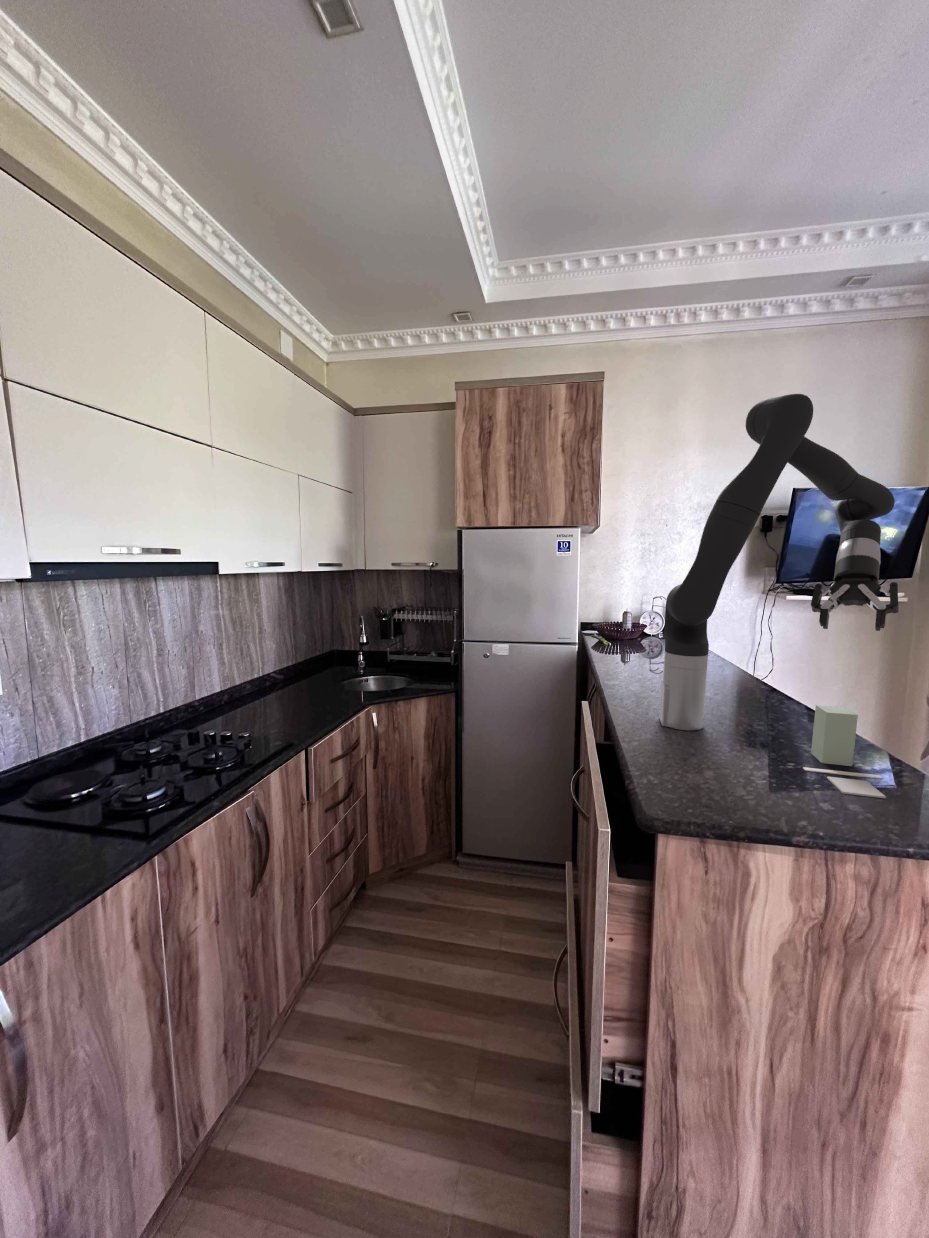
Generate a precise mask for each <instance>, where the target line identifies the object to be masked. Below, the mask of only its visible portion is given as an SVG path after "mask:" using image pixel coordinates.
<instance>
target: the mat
mask: <svg viewBox="0 0 929 1238" xmlns="http://www.w3.org/2000/svg"><path fill="white" fill-rule="evenodd" d="M826 779H827V780H828V781H829V782H830V783H831V784H832V785H833V786H834V787H835V788H836V789H838V790H839V792H841V794H845V795H854V796H860V797H861V796H862V797H871V798H878V799H879V798H880V799H886V797H887V796H886V795H885V794H883V793H882V792H881V791H880V790H879V789H877V788H876V787H875V786H873V784H871V783H870V782H869V781H868V780H865V779H864V780H862V779H855V778H844V777H837V776H836V777H835V776H826Z"/></svg>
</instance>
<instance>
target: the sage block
mask: <svg viewBox="0 0 929 1238" xmlns="http://www.w3.org/2000/svg"><path fill="white" fill-rule="evenodd" d="M858 717H859V715H858V714H857V713H855V712H854V711H852V710H851V709H849V708H847V707H845V706H844V707H843V706H833V705H821V704H820V705H819V704H815V710H814V719H813V731H812V737H811V738H812V739H811V750H810V754H811V755H812V756H813V757H814V758H815V759H816V760H818V761H819V762H820V763H821V764H825V765H826V764H827V765H828V764H829V765H838V766H847V767H853V763H854V762H853V761H854V755H855V754H854V753H855V743H856V737H857V736H856V734H857V726H858Z"/></svg>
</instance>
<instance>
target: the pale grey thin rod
mask: <svg viewBox="0 0 929 1238" xmlns="http://www.w3.org/2000/svg"><path fill="white" fill-rule="evenodd" d="M802 769H803V770H804V771H805V772H813V773H823V774H829V775H830V774H831V775H832V774H833V775H840V776H841V775H842V776H848V777H849V776H851V777H860V778H869V779H876V780H883V779H884V778H883V777H882V776H881V775H880V774H870V773H861V772H854V771H853V772H850V771H843V770H833V769H823V768H817V767H816V768H814V767H806V766H805V767H804V766H803V767H802Z"/></svg>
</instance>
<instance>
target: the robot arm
mask: <svg viewBox="0 0 929 1238" xmlns="http://www.w3.org/2000/svg"><path fill="white" fill-rule="evenodd" d="M813 416H814V404H813V401H812V400H811V398H810V397H809V396H808V395H805V394H802V393H790V394H786V395H781V396H776V397H771V398H767V399H764V400H761V401H758V402H757V403H755V404H754V405H753V406H752V407H751V408H750V409H749V410H748V412H747V414H746V417H745V426H744V427H745V431H746V433H747V435H748V436H749V437H750V438H751V440H752V441H753V442H755V443H756V444H759V446H758V448H757V450H756V451H755V454H754V455H753V456H752V458H751V459H750V461H749V462H748V463H747V464H746V466H744V467H743V468H742V469H741V470H740V472H738V474H736V476H735V477H733V479H732V480H731V481H730V482H729V483H728V484H727V485H725V487H724V489H723V490H722V491H721V492H720V493H719V495H718V497H717V498H716V500H715V502H714V504H713V506H712V508H711V511H710V513H709V515H708V517H707V519H706V522H705V524H704V528H703V531H702V533H701V538H700V542H699V545H698V546H699V547H698V550H697V553H696V556H695V559H694V561H693V564H692V565H691V567H690V569H689V571H688V573H687V574H686V576H685V578H684V580H683V581H682V582H681V583H680V584H678V585H675V587H673V588H671V590H670V591H669V593H668V595H667V597H666V601H665V612H664V629H663V630H664V636H663V637H664V658H663V670H662V671H663V672H662V673H663V674H662V680H661V681H660V682H661V686H660V699H659V701H660V702H659V716H658V718H659V719H658V720H659V722H660V724H661V726H662V727H668V728H671V729H675V730H680V731H699V730H702V729H703V728H704V720H705V716H704V715H705V703H706V691H707V677H708V676H707V673H708V664H709V663H708V661H709V660H708V659H709V648H710V644H709V640H708V631H707V630H708V620H709V618H710V617H712V614H713V613H714V612H715V609H716V605H717V603H718V600H719V597H720V595H721V592H722V591H723V586H724V584H725V581H726V579H727V577H728V574H729V572H730V570H731V569H732V567H733V565H734V563H735V562H736V560H737V558H738V556H739V555H740V553H741V552H742V549H743V548H744V546H745V544H746V542H747V541H748V539H749V537H750V535H751V533H752V532H753V529H754V527H755V526H756V523H757V521H758V520H759V518H760V516H761V514H762V512H763V510H764V507H765V505H766V503H767V500H768V499H769V497H770V495H771V494H772V492H773V489H774V488H775V486H776V484H777V482H778V480H779V478H780V476H781V474H782V472H783V471H784V469H785V467H786V466H787V464H789V465H791V467H793V468H794V469H796V470H797V471H799V473H801V474H802V475H803V476H804V477H806V478H807V480H809V481H810V482H811V483H812V484H813V485H814V486H815V487H816V488H817V489H818V490H819V491H821V493H823V495H825V496H826V498H828V499H829V500H831V501H835V502H837V503H836V504H835V506H834V514H835V515H834V516H835V518H836V521H837V522H838V527H839V532H840V539H839V545H838V546H839V547H838V551H837V554H836V557H835V558H836V560H835V567H834V574H833V575H834V576H833V582H832V584H831V585H830V586H829V585H826V586H825V585H822V584H821V583H816V584H815V585H814V589H813V593H812V597H811V602H810V607H811V611H812V612H813V613H820V614H819V618H818V622H819V626H820V627H822V629H824V630H828V628H829V622H830V621H829V620H830V613H831V612H832V611H833V610H836V609H838V608H839V607H840V606H842V605H844V606H846V607H848V606H858V607H859V606H861V607H864V605H867V606H868V607H869V608H870V609H871V610H874V611H875V613H876V614H875V623H874V624H875V627H874V628H875V631H877V632H878V631H879V632H881V629H884V628H885V627H886V619H887V617H886V616H887V615H888V614H898V613H899V589H898V582H896V581H893V582H890V583H889V584H885V585H880V583H879V579H880V569H881V568H880V567H881V562H882V561H881V555H882V554H881V536H882V528H881V525H880V524H879V523H878V522H876V521H874V520H875V519H878V518H880V517H883V516H886V515H888V514H889V513H890V512H892V510H893V509H894V507H895V500H896V499H895V497H894V494H893V493H892V492H891V490H890V489H889V488H888V487H886V486H885V485H883V484H881V483H879V482H877V481H876V480H873V479H871V478H868V477H867V476H865V475H862V474H860V473H859V472H858V471H857V470H855V468H854V467H852V465H850V463H849V462H848V461H847V460H845V459H844V457H842V456H841V455H840V454H838V453H836V452H835V451H832V450H830V449H829V448H826V447H824V446H822V445H820V444H818V443H816V442H814V441H813V440H811V439H809V438H808V437H806V436H805V435H806V434H807V432H808V430H809V428H810V426H811V424H812V422H813V418H814V417H813ZM881 592H882V593H884V595H885V596H887V597H889V604H885V603H884V602H882V601H881V600H880V598H879V597H878V595H879V594H881ZM828 593H830V594H831V595H830V596H829V597H828V599H827V600H826V601H825V602H824V603H821V602H822V599H823V598H822V597H825V596H826V595H827V594H828Z"/></svg>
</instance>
